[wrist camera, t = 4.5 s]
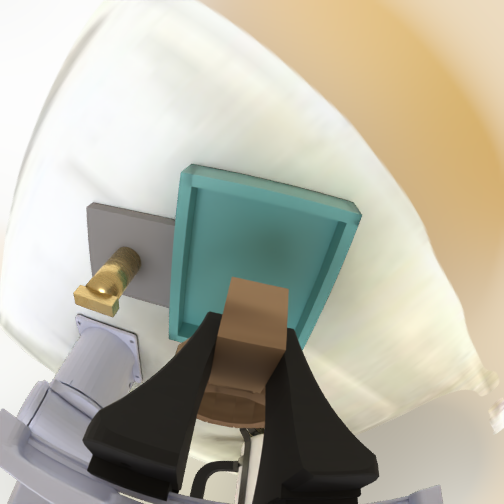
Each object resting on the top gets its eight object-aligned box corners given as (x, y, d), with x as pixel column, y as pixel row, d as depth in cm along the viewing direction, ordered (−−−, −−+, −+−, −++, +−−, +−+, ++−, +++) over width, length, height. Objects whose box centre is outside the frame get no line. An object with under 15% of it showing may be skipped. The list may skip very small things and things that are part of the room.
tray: (293, 346, 27) (294, 365, 24) (176, 321, 26) (168, 338, 24) (353, 202, 19) (362, 214, 17) (191, 163, 19) (180, 171, 17)
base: (173, 301, 25) (170, 308, 24) (98, 279, 25) (93, 285, 24) (180, 220, 21) (176, 226, 20) (92, 202, 21) (86, 207, 20)
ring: (275, 395, 19) (271, 433, 16) (179, 376, 19) (168, 412, 16) (339, 299, 12) (345, 358, 10) (178, 263, 12) (153, 319, 9)
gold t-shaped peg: (145, 277, 23) (114, 325, 17) (112, 267, 23) (77, 311, 17) (145, 251, 21) (110, 297, 16) (111, 242, 21) (71, 284, 16)
